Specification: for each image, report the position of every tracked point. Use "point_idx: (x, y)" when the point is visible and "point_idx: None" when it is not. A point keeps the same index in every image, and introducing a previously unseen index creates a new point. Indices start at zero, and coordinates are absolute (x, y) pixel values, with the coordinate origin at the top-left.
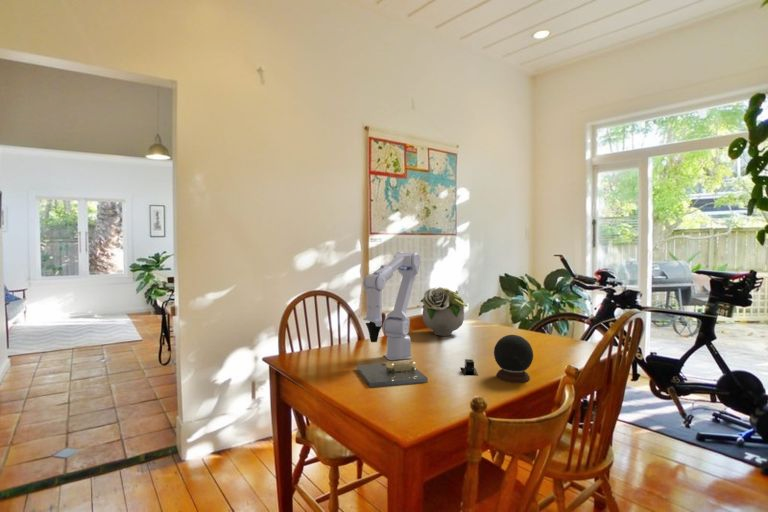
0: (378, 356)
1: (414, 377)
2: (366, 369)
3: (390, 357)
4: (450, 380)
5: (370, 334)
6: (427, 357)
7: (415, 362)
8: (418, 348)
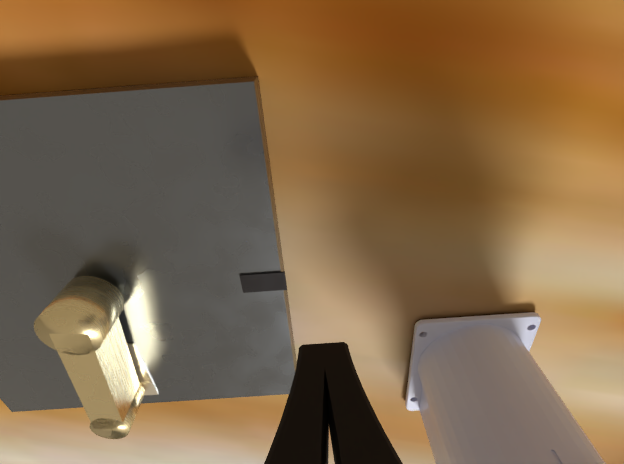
0: (534, 279)
1: (2, 372)
2: (127, 149)
3: (444, 335)
4: (72, 451)
5: (274, 449)
6: (404, 450)
7: (108, 437)
8: None
